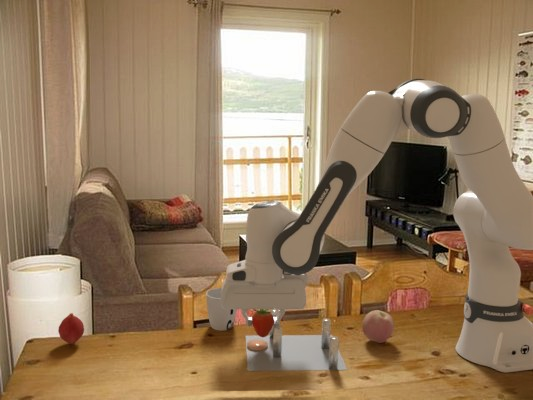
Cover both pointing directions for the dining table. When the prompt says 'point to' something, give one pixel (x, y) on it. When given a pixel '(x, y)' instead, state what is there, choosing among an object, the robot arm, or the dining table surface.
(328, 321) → the posts
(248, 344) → the pad
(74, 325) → the onion
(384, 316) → the apple
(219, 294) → the cup
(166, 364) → the dining table surface
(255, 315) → the fruit
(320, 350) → the board
